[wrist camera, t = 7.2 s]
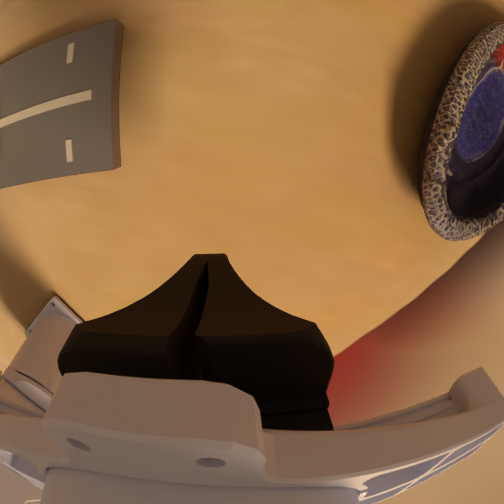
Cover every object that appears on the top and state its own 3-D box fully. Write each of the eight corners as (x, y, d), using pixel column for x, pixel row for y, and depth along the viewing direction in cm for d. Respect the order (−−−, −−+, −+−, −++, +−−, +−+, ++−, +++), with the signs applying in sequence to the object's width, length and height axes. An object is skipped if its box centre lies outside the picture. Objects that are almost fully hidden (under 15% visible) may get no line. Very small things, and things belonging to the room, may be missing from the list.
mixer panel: (123, 25, 13) (116, 19, 12) (121, 166, 18) (113, 170, 17) (-29, 88, 12) (-39, 89, 10) (-25, 193, 16) (-34, 198, 15)
